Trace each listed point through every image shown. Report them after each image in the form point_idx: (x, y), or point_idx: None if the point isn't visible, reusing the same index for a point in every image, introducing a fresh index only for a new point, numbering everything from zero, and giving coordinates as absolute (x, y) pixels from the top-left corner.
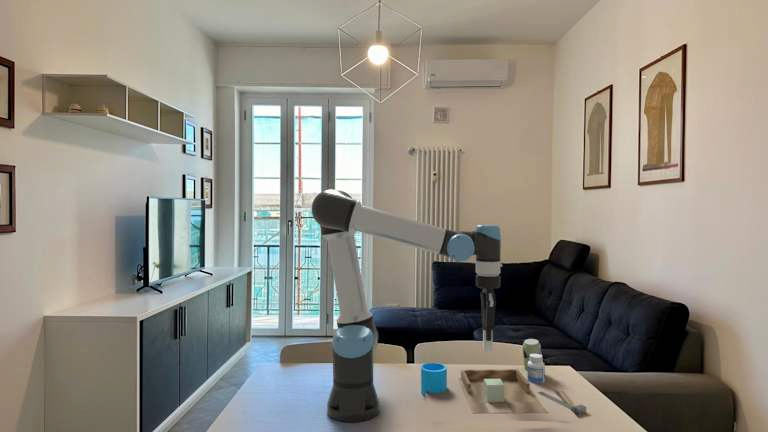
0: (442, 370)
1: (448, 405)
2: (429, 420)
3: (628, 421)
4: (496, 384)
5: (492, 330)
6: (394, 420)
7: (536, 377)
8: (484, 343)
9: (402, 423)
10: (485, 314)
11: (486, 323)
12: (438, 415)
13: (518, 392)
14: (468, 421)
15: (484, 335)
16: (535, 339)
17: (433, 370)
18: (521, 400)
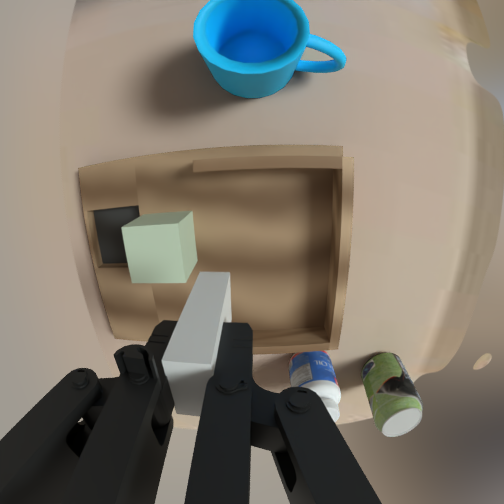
0: (206, 56)
1: (155, 101)
2: (80, 69)
3: None
4: (131, 259)
5: (176, 408)
6: (90, 7)
7: (291, 376)
8: (190, 296)
9: (76, 25)
10: (66, 497)
11: (36, 406)
12: (100, 83)
13: None
14: (74, 156)
15: (177, 331)
16: (407, 431)
17: (293, 40)
18: (167, 306)
